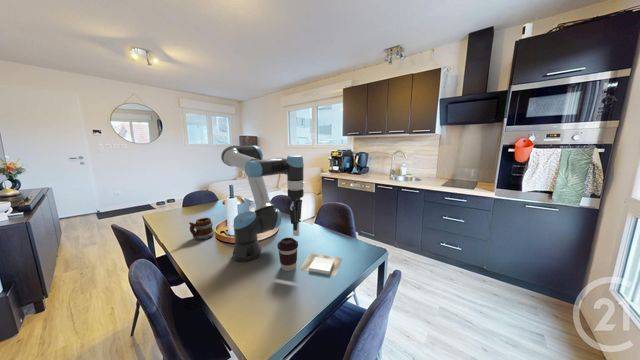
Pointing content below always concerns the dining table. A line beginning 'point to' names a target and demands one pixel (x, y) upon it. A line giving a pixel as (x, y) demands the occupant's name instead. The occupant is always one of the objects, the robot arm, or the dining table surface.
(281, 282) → the dining table surface
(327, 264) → the tile
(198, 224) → the mug
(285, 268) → the coffee cup
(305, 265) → the board
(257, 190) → the robot arm
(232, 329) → the dining table surface
